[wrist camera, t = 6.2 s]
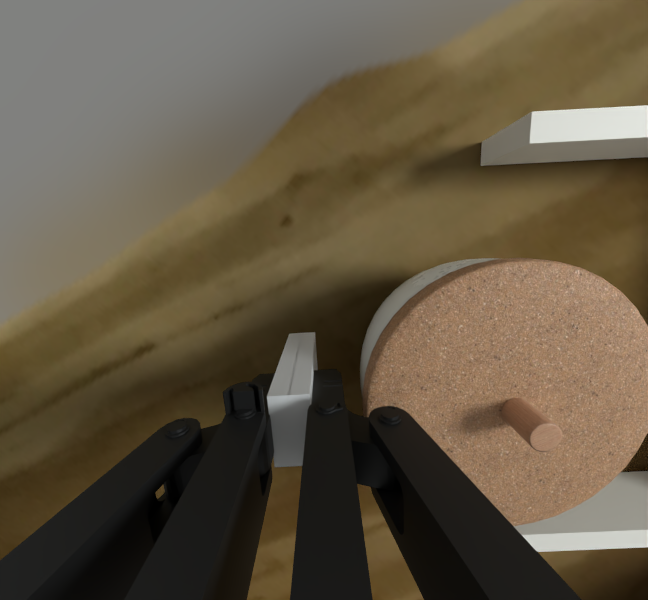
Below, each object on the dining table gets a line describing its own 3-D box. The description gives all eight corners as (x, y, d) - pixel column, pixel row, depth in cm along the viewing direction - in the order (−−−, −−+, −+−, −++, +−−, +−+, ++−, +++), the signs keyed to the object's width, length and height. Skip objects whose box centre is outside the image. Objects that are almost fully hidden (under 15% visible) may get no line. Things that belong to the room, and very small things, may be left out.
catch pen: (463, 493, 21) (495, 553, 17) (481, 142, 16) (532, 111, 12) (685, 484, 21) (770, 542, 17) (766, 127, 16) (909, 91, 12)
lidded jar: (318, 298, 18) (313, 362, 9) (488, 217, 17) (681, 194, 8) (389, 441, 20) (446, 616, 11) (545, 375, 19) (754, 504, 10)
